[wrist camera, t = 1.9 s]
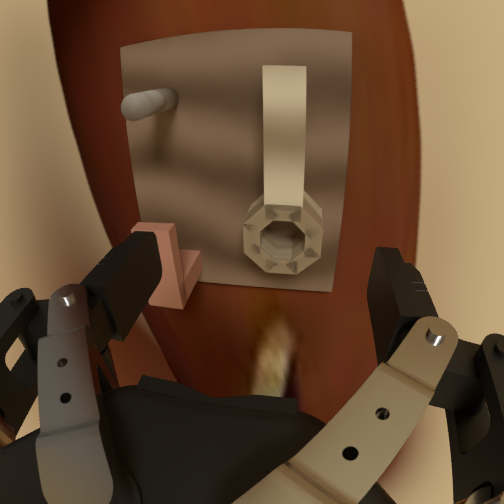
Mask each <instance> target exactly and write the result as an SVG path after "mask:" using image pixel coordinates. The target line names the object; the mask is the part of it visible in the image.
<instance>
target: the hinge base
mask: <svg viewBox="0 0 504 504" xmlns="http://www.w3.org/2000/svg"><path fill="white" fill-rule="evenodd" d="M120 51H121V69H122V83H123V95H124V100H123V101H122V104H121V112H122V114H123V116H124V117H125V118H126V125H127V133H128V141H129V149H130V156H131V163H132V170H133V176H134V183H135V189H136V195H137V200H138V206H139V211H140V217H141V222H149V223H174V224H175V227H176V234H177V241H178V247H179V249H182V250H196V251H201V259H202V267H203V270H202V272H201V274H200V276H199V278H198V280H197V281H200V282H210V283H221V284H232V285H244V286H256V287H268V288H281V289H295V290H309V291H324V292H332V286H333V280H334V273H335V266H336V259H337V252H338V245H339V237H340V229H341V221H342V212H343V203H344V193H345V183H346V172H347V160H348V147H349V131H350V112H351V85H352V32H344V31H333V30H319V29H295V28H263V29H239V30H225V31H214V32H204V33H196V34H188V35H181V36H175V37H169V38H163V39H157V40H152V41H147V42H142V43H138V44H133V45H129V46H124V47H120ZM262 65H281V66H306V136H305V168H304V191H305V192H306V193H307V194H308V195H309V196H310V197H311V198H312V199H313V200H314V201H315V202H316V203H317V205H318V206H319V207H320V208H322V217H323V229H324V230H323V236H322V246H321V258H319V259H318V260H316V261H315V262H314V263H312V264H311V265H309V266H308V267H307V268H305V269H304V270H302V271H301V272H300V273H298V274H297V275H295V274H281V273H268V272H267V273H266V272H265V271H264V270H263V269H262V268H261V267H259V266H258V265H257V264H256V263H255V262H254V261H253V260H252V259H251V258H249V257H248V256H247V255H246V254H245V253H244V240H243V222H244V220H245V218H246V215H247V213H248V210H249V208H250V206H251V204H252V203H254V202H255V201H256V200H257V199H258V198H259V197H260V196H261V195H263V194H264V138H263V71H262ZM267 227H268V228H269V229H270V230H271V231H272V232H273V233H274V234H275V235H276V236H277V237H290V238H293V237H295V236H296V235H297V234H299V233H300V232H301V231H302V230H301V229H300V228H299V227H298V226H297V225H296V224H295V223H294V222H291V221H274V220H273V221H272V222H271V223H270V224H268V225H267Z"/></svg>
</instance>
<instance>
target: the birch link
mask: <svg viewBox="0 0 504 504" xmlns="http://www.w3.org/2000/svg"><path fill="white" fill-rule="evenodd" d="M262 71H263V138H264V194H263V195H261V196H260V197H259V198H258V199H257V200H256V201H255V202H254V203H252V204H251V206H250V208H249V210H248V213H247V215H246V218H245V220H244V222H243V240H244V253H245V254H246V255H247V256H248V257H249V258H251V259H252V260H253V261H254V262H255V263H256V264H257V265H258V266H259V267H261V268H262V269H263V270H264V271H265V272H266V273H267V272H268V273H281V274H295V275H297V274H298V273H300V272H301V271H302V270H304V269H305V268H307V267H308V266H309V265H311V264H312V263H314V262H315V261H316V260H318V259H319V258H321V246H322V236H323V230H324V229H323V217H322V208H320V207H319V206H318V205H317V203H316V202H315V201H314V200H313V199H312V198H311V197H310V196H309V195H308V194H307V193H306V192H305V191H304V168H305V136H306V66H281V65H262ZM273 220H274V221H291V222H294V223H295V224H296V225H297V226H298V227H299V228H300V229H301V230H302V231H301V232H300V233H299V234H297V235H296V236H295V237H293V238H290V237H277V236H276V235H275V234H274V233H273V232H272V231H271V230H270V229H269V228H268V227H267V225H268V224H270V223H271V222H272V221H273Z"/></svg>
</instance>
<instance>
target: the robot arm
mask: <svg viewBox="0 0 504 504" xmlns="http://www.w3.org/2000/svg"><path fill="white" fill-rule="evenodd" d="M161 278H162V263H161V258H160V253H159V248H158V242H157V237H156V235H155V233H154V232H151V231H134V232H133V233H132V234H131V235H130V236H129V237H128V238H127V239H126V240H125V241H124V242H123V243H121V244H119V245H117V246H116V247H114V248H112V249H111V250H110V251H109V252H108V253H107V254H106V256H105V257H104V258H103V259H102V260H101V261H100V262H99V264H98V265H96V266H95V268H93V270H92V271H91V272H90V273H89V274H88V275H87V276H86V277H85V279H84V280H83V281H82V282H81V283H80V284H68V285H65V286H63V287H61V288H59V289H58V290H56V291H55V292H54V293H53V294H52V295H51V297H50V299H47V300H36V298H35V296H34V294H33V292H32V290H31V289H29V288H20V289H17V290H15V291H13V292H12V293H10V294H9V295H8V296H7V297H6V298H5V299H4V300H3V301H2V302H1V303H0V504H396V503H395V501H394V500H393V499H392V498H391V497H390V496H389V495H388V493H386V491H385V490H384V489H383V488H382V487H381V485H380V484H379V483H378V482H377V480H378V478H379V477H380V476H381V474H382V473H383V472H384V471H385V469H386V468H387V467H388V465H389V464H390V462H391V461H392V459H393V458H394V457H395V455H396V454H397V453H398V451H399V450H400V448H401V447H402V445H403V444H404V442H405V441H406V440H407V438H408V436H409V435H410V433H411V432H412V430H413V429H414V427H415V426H416V424H417V422H418V421H419V419H420V417H421V416H422V414H423V412H424V411H425V409H426V407H427V406H428V405H432V406H436V407H440V408H444V409H445V412H446V418H447V426H448V432H449V442H450V451H451V462H452V476H453V500H454V504H504V336H503V335H500V334H489V335H488V336H486V337H485V339H484V340H483V342H482V344H481V345H479V344H475V343H471V342H467V341H463V340H460V339H458V334H457V332H456V330H455V329H454V327H453V326H452V325H451V324H450V323H448V322H447V321H445V320H443V319H441V318H439V317H438V314H437V312H436V309H435V307H434V305H433V302H432V299H431V297H430V295H429V292H427V288H426V285H425V284H424V281H423V278H422V276H421V274H420V272H419V271H418V270H417V269H416V268H415V267H414V266H413V265H412V264H411V263H404V261H403V259H402V256H401V254H400V251H399V249H398V248H389V247H377V248H376V250H375V254H374V259H373V264H372V268H371V273H370V277H369V282H368V288H367V301H368V307H369V312H370V318H371V324H372V329H373V336H374V342H375V348H376V355H377V362H378V367H377V368H376V370H375V371H374V372H373V373H372V374H371V376H370V377H369V378H368V379H367V381H366V382H365V383H364V384H363V385H362V386H361V388H360V389H359V390H358V391H357V392H356V393H355V394H354V396H353V397H352V398H351V399H350V400H349V401H348V402H347V403H346V405H345V406H344V407H343V408H342V409H341V410H340V411H339V412H338V413H337V414H336V415H335V416H334V418H333V419H332V420H331V421H330V422H329V423H328V424H325V423H324V422H323V421H321V420H319V419H317V418H316V417H314V416H312V415H309V414H307V413H305V412H302V411H298V410H297V401H298V399H295V398H283V397H273V396H263V395H249V396H237V397H221V398H214V397H210V396H207V395H205V394H202V393H200V392H198V391H195V390H193V389H191V388H188V387H186V386H184V385H182V384H180V383H177V382H173V381H168V380H164V379H159V378H154V377H150V376H146V375H142V377H141V379H140V381H139V383H138V385H131V386H124V387H120V386H119V383H118V379H117V375H116V371H115V367H114V363H113V358H112V354H111V350H110V347H109V345H108V343H109V341H110V339H115V340H118V341H124V340H125V338H126V336H127V335H128V333H129V331H130V330H131V328H132V326H133V325H134V323H135V321H136V320H137V318H138V316H139V315H140V313H141V312H142V310H143V308H144V307H145V305H146V304H147V302H148V300H149V299H150V297H151V296H152V294H153V292H154V291H155V289H156V288H157V286H158V285H159V283H160V281H161ZM17 337H18V338H19V339H20V341H21V343H22V344H23V346H24V348H25V350H24V352H23V353H22V355H21V356H20V358H19V359H18V360H17V362H16V364H15V365H14V367H13V368H12V370H11V371H10V370H9V369H8V368H7V366H6V363H5V356H6V353H7V351H8V350H9V348H10V347H11V345H12V344H13V343H14V341H15V340H16V339H17ZM37 396H38V401H39V417H40V428H39V429H37V430H35V431H33V432H31V433H29V434H27V435H25V436H24V437H21V438H19V439H17V440H15V437H16V435H17V433H18V431H19V429H20V427H21V426H22V423H23V422H24V420H25V418H26V416H27V414H28V412H29V410H30V408H31V406H32V405H33V403H34V401H35V399H36V397H37ZM487 407H488V408H487ZM488 412H489V413H488ZM489 416H490V417H489Z"/></svg>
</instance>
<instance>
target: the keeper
mask: <svg viewBox="0 0 504 504" xmlns="http://www.w3.org/2000/svg"><path fill="white" fill-rule="evenodd" d="M134 231H151V232H154V233H155V235H156V237H157V242H158V248H159V253H160V258H161V263H162V278H161V281H160V283H159V285H158V286H157V288H156V289H155V291H154V292H153V294H152V296H151V297H150V299H149V304H150V305H154V306H161V307H169V308H176V309H183V308H184V306H185V304H186V302H187V300H188V298H189V296H190V294H191V292H192V290H193V288H194V286H195V284H196V282H197V280H198V278H199V276H200V274H201V272H202V270H203V267H202V259H201V251H196V250H182V249H179V247H178V241H177V234H176V227H175V224H174V223H149V222H138V223H137V224H136V225H135V226H134V227H133V228H132V229H131V232H132V233H133V232H134Z"/></svg>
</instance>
